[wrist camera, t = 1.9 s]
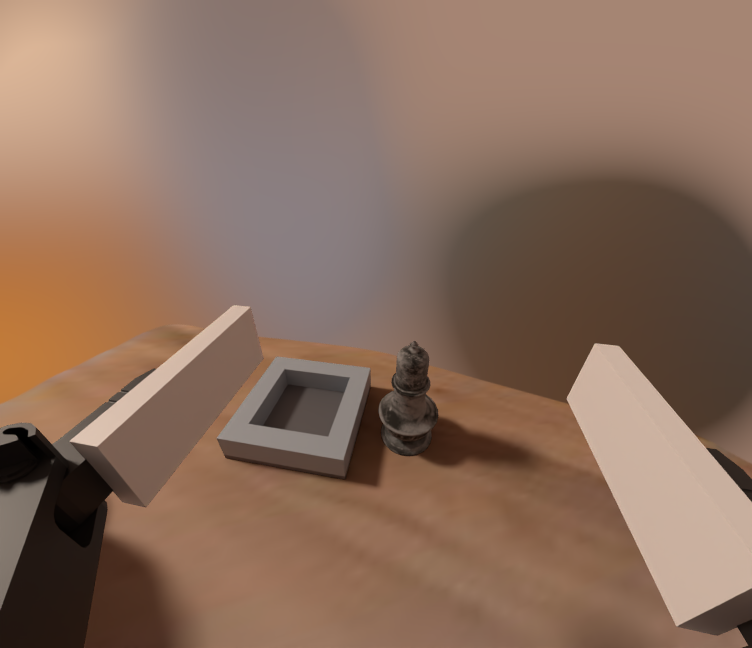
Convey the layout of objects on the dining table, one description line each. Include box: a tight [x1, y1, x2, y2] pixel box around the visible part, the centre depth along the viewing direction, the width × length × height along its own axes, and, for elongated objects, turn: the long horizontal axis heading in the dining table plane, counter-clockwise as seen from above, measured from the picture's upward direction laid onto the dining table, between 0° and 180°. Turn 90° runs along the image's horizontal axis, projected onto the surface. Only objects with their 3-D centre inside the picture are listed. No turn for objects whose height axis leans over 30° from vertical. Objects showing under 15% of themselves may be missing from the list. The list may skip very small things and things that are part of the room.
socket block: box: [217, 357, 371, 479], centre depth 32 cm, size 12×12×3 cm
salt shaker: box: [379, 341, 438, 456], centre depth 28 cm, size 6×6×12 cm
